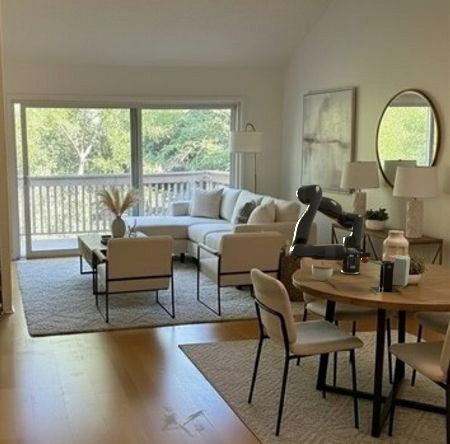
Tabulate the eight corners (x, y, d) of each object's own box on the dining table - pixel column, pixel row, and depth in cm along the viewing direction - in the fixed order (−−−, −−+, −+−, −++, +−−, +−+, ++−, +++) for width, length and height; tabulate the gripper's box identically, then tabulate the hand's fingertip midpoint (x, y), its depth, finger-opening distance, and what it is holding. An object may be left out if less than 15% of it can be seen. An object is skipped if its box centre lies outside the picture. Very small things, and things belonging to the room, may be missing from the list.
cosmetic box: (395, 283, 288) (397, 254, 286) (408, 285, 285) (410, 256, 283) (392, 286, 281) (393, 257, 279) (405, 288, 278) (407, 259, 276)
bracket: (376, 294, 267) (378, 264, 265) (369, 289, 277) (371, 259, 275) (402, 295, 267) (404, 264, 265) (394, 289, 277) (395, 259, 274)
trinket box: (310, 276, 303) (311, 259, 301) (331, 277, 300) (332, 260, 299) (311, 281, 292) (312, 263, 291) (333, 282, 290) (334, 264, 289)
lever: (361, 262, 268) (363, 255, 268) (358, 261, 272) (361, 254, 271) (390, 270, 268) (392, 263, 268) (387, 269, 272) (389, 262, 272)
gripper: (337, 247, 262) (372, 248, 262) (329, 242, 276) (362, 242, 276) (336, 263, 263) (372, 263, 263) (328, 257, 277) (361, 257, 277)
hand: (367, 253), depth 269 cm, fingers open, 8 cm apart
